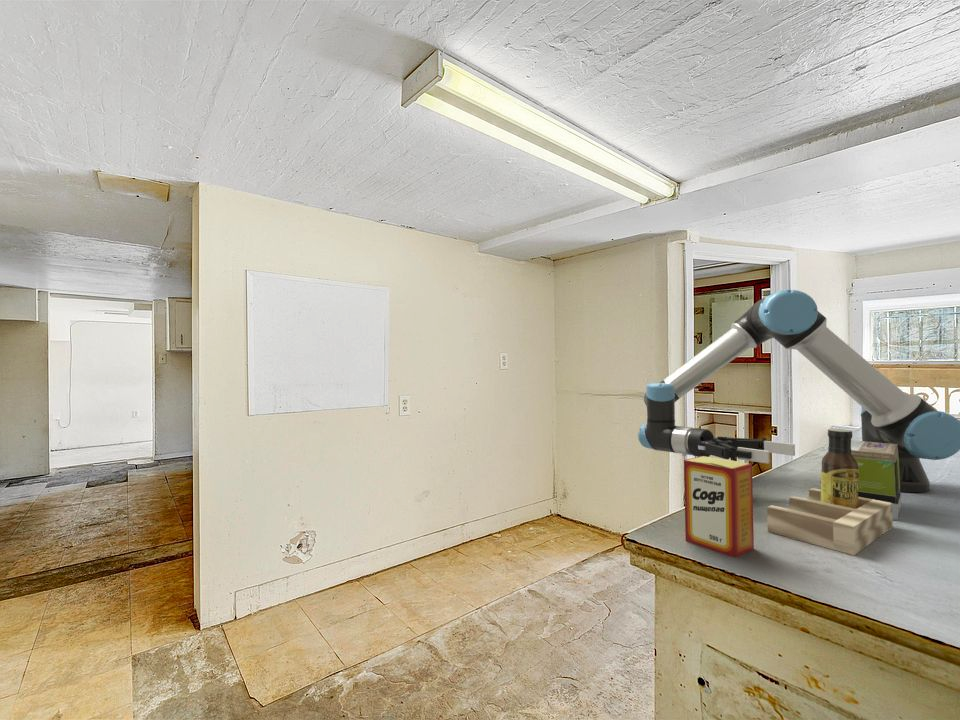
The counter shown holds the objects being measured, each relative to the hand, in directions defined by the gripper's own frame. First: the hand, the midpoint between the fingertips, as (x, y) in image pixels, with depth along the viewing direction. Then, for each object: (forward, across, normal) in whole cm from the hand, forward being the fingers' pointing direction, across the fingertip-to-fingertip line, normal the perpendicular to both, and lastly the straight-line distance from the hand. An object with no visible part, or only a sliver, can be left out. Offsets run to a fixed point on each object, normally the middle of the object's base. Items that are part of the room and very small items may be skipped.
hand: (782, 453), depth 103 cm
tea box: (+11, -18, -14) cm, 25 cm away
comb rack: (+11, +5, -13) cm, 18 cm away
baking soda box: (+1, +31, -13) cm, 34 cm away
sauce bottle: (+10, 0, -14) cm, 17 cm away
